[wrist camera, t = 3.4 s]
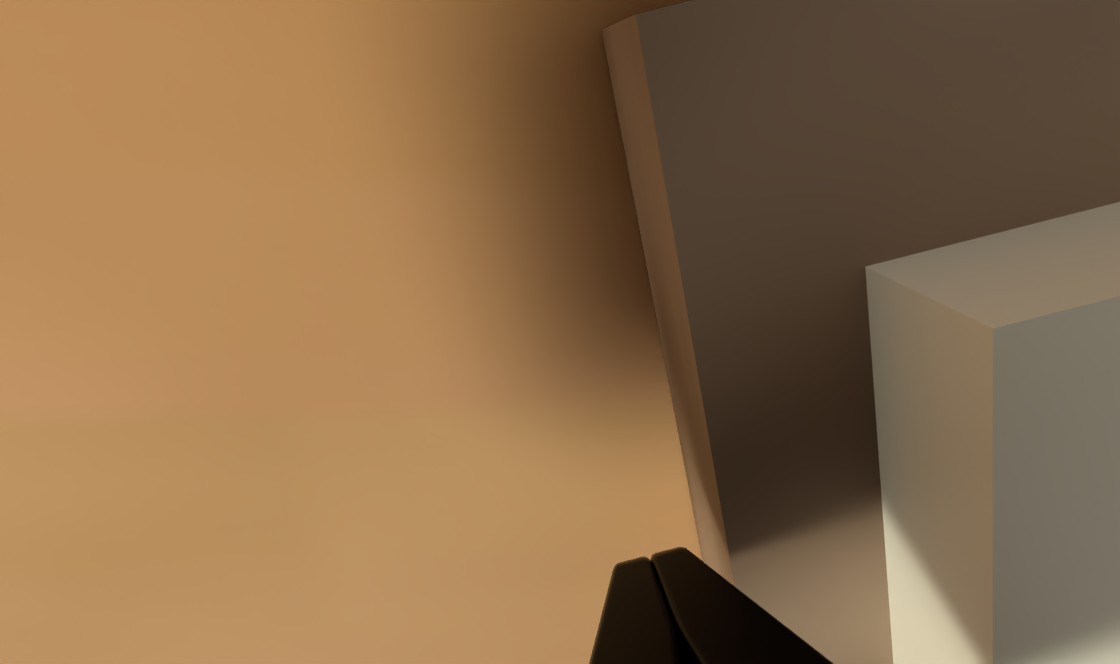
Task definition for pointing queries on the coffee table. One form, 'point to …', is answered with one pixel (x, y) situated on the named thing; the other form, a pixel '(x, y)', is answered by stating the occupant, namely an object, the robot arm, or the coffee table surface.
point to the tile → (1002, 444)
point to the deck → (832, 241)
